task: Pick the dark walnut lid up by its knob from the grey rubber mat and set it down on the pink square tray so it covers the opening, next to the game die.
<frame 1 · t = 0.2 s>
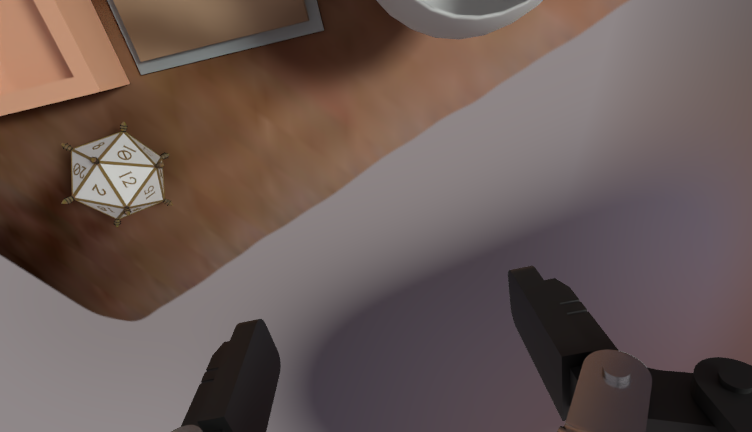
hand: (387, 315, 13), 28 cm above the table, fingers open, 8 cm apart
game die: (143, 161, 40), on the table
pink square tray: (13, 18, 34), on the table
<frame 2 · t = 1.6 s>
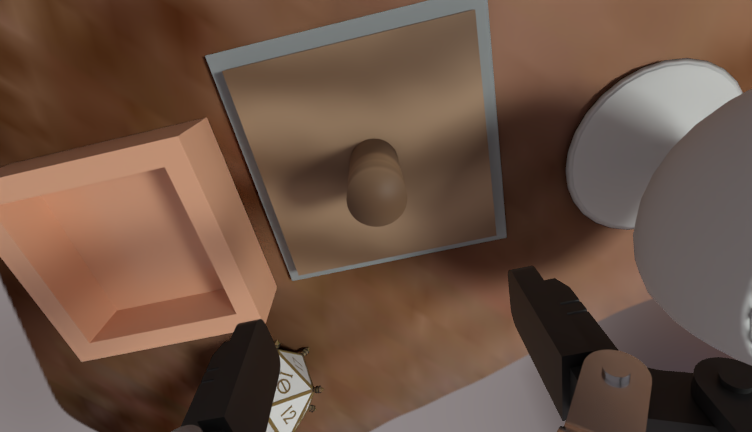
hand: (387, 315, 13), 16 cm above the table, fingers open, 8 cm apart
lid: (373, 157, 27), resting on mat
game die: (277, 353, 36), on the table
pink square tray: (155, 230, 29), on the table
mat: (373, 156, 27), on the table
chalice: (648, 149, 28), on the table
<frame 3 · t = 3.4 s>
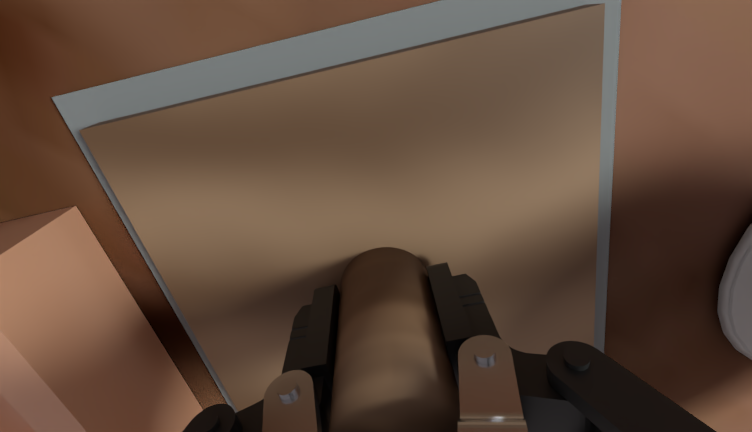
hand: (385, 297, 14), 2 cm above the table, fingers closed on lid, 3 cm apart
lid: (384, 269, 15), resting on mat, touching gripper
pink square tray: (16, 379, 18), on the table
mat: (383, 265, 15), on the table
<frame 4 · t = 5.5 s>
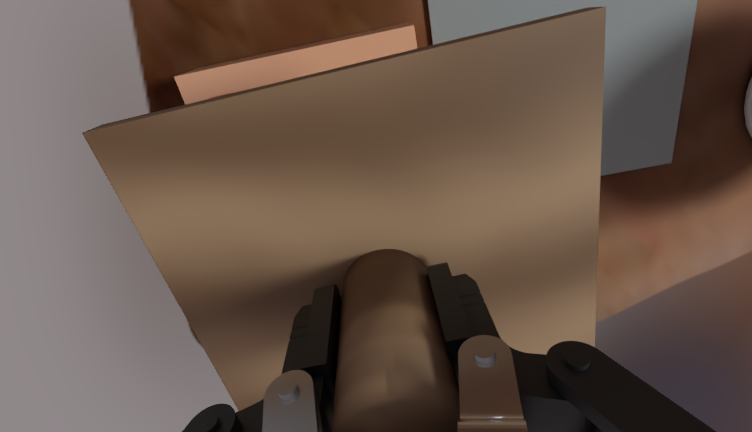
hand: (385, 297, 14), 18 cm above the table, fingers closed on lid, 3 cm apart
lid: (385, 271, 15), point 16 cm above the table, touching gripper
pink square tray: (328, 145, 30), on the table
mat: (560, 70, 27), on the table
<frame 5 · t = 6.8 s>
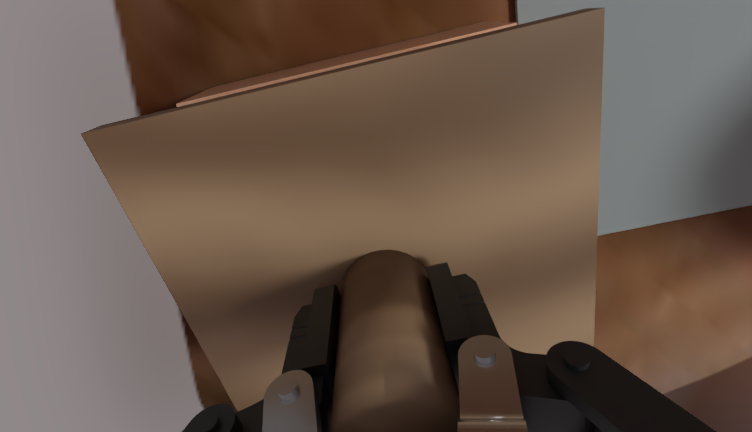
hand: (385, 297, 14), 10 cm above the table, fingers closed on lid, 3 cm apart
lid: (384, 271, 15), point 9 cm above the table, touching gripper
pink square tray: (375, 181, 23), on the table
mat: (683, 79, 21), on the table
when the fingers open (8 cm above the table, at t = 7.5 s): lid drops 1 cm, resting on pink square tray.
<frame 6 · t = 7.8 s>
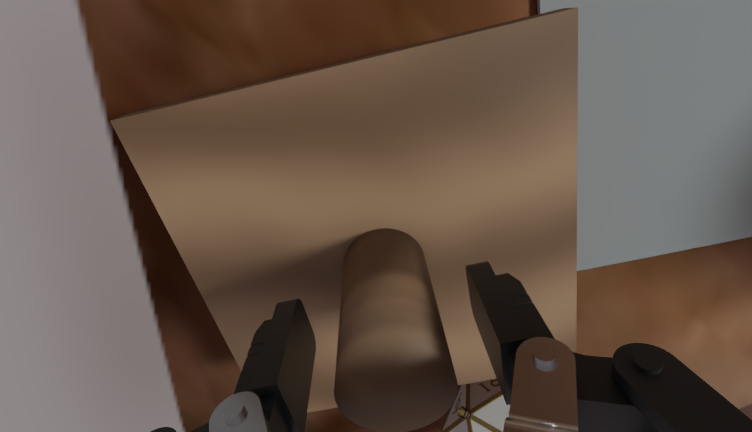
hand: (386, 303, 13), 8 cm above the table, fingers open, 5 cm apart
lid: (383, 250, 17), point 4 cm above the table, touching pink square tray
game die: (489, 375, 27), on the table
mat: (725, 89, 18), on the table
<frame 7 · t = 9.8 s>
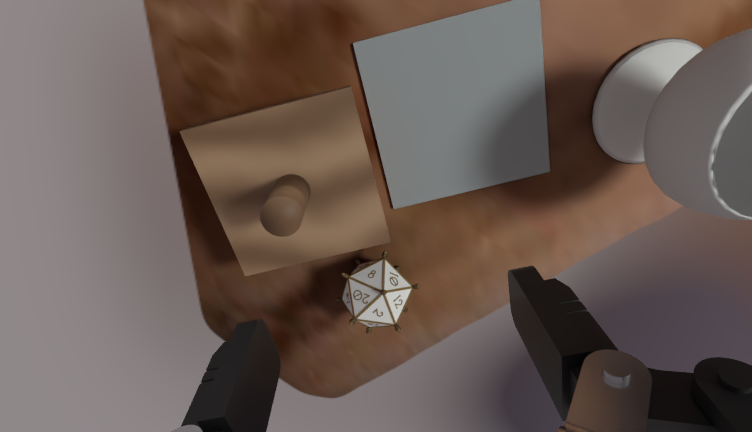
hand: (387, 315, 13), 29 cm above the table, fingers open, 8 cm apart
lid: (294, 187, 37), point 4 cm above the table, touching pink square tray
game die: (375, 272, 47), on the table
mat: (458, 111, 39), on the table
chalice: (649, 103, 40), on the table
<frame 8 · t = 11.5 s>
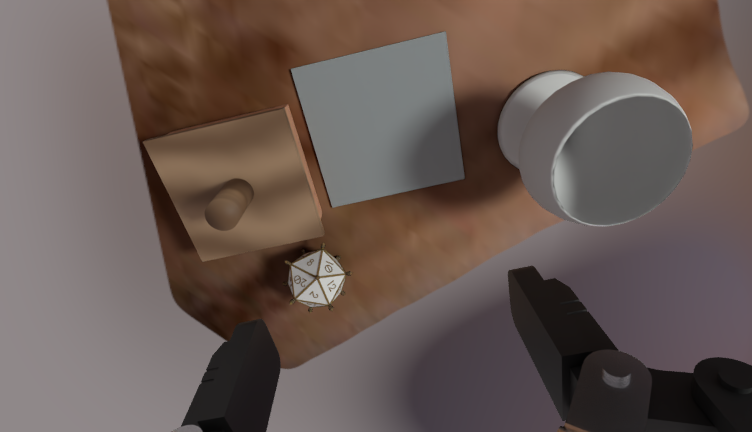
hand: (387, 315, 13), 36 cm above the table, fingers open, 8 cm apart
lid: (241, 188, 44), point 4 cm above the table, touching pink square tray
game die: (319, 260, 55), on the table
pink square tray: (250, 174, 48), on the table
mat: (383, 127, 46), on the table
chalice: (547, 123, 47), on the table
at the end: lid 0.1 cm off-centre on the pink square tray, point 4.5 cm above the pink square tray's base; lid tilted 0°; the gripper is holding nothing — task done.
